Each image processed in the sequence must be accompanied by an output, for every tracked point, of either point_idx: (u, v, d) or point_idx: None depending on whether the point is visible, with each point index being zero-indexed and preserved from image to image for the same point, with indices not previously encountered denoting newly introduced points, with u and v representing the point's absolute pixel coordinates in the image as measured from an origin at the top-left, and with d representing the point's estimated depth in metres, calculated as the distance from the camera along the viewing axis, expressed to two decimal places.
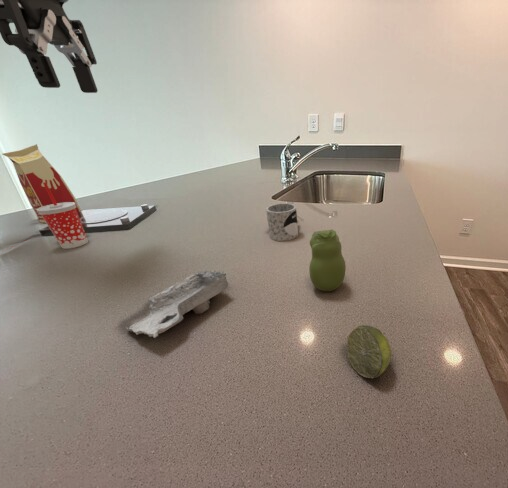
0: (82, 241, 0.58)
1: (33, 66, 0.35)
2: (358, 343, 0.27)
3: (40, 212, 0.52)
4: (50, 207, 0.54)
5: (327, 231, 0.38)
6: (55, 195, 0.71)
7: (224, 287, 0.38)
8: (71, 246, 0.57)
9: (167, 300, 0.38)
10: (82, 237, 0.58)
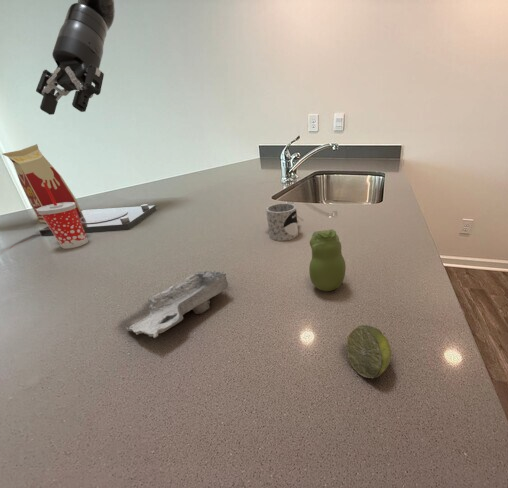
0: (82, 241, 0.58)
1: (83, 98, 0.56)
2: (358, 343, 0.27)
3: (40, 212, 0.52)
4: (50, 207, 0.54)
5: (327, 231, 0.38)
6: (55, 195, 0.71)
7: (224, 287, 0.38)
8: (71, 246, 0.57)
9: (167, 300, 0.38)
10: (82, 237, 0.58)
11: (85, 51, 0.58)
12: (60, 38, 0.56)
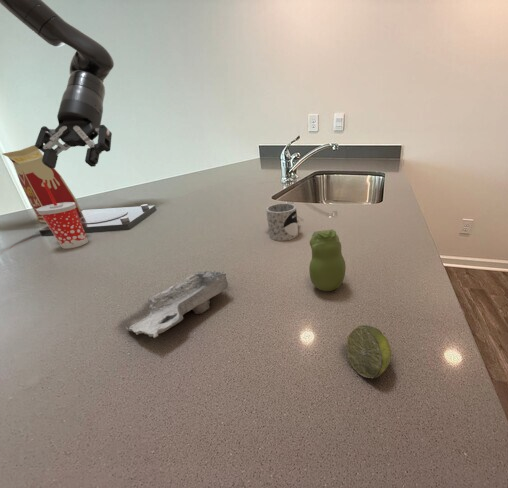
0: (82, 241, 0.58)
1: (95, 154, 0.60)
2: (358, 343, 0.27)
3: (40, 212, 0.52)
4: (50, 207, 0.54)
5: (327, 231, 0.38)
6: (55, 195, 0.71)
7: (224, 287, 0.38)
8: (71, 246, 0.57)
9: (167, 300, 0.38)
10: (82, 237, 0.58)
11: (92, 113, 0.63)
12: (69, 101, 0.60)
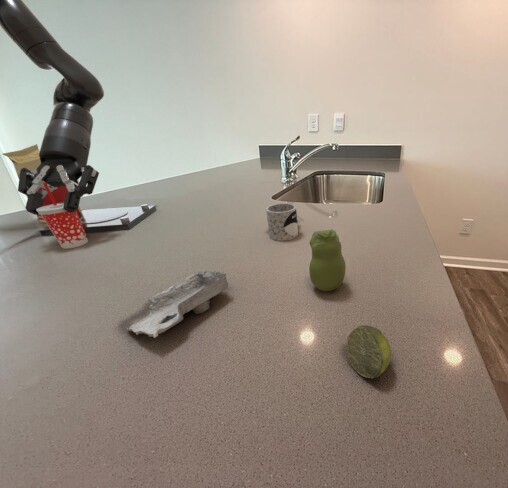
0: (82, 241, 0.58)
1: (75, 199, 0.54)
2: (358, 343, 0.27)
3: (40, 212, 0.52)
4: (50, 207, 0.54)
5: (327, 231, 0.38)
6: (55, 195, 0.71)
7: (224, 287, 0.38)
8: (71, 246, 0.57)
9: (167, 300, 0.38)
10: (82, 237, 0.58)
11: (78, 149, 0.57)
12: (51, 137, 0.55)
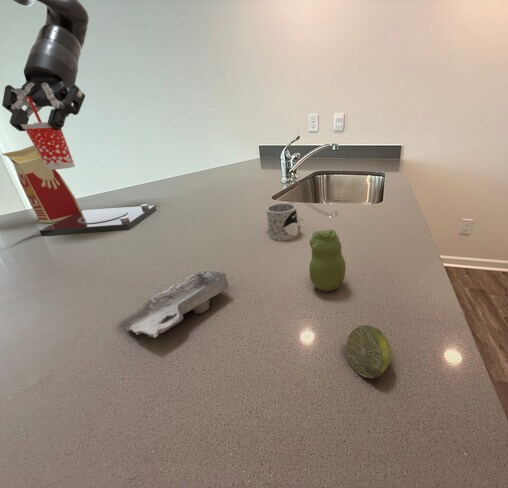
0: (68, 164, 0.57)
1: (60, 116, 0.54)
2: (358, 343, 0.27)
3: (24, 126, 0.52)
4: (34, 123, 0.53)
5: (327, 231, 0.38)
6: (55, 195, 0.71)
7: (224, 287, 0.38)
8: (57, 167, 0.56)
9: (167, 300, 0.38)
10: (68, 160, 0.57)
11: (64, 70, 0.57)
12: (36, 54, 0.54)
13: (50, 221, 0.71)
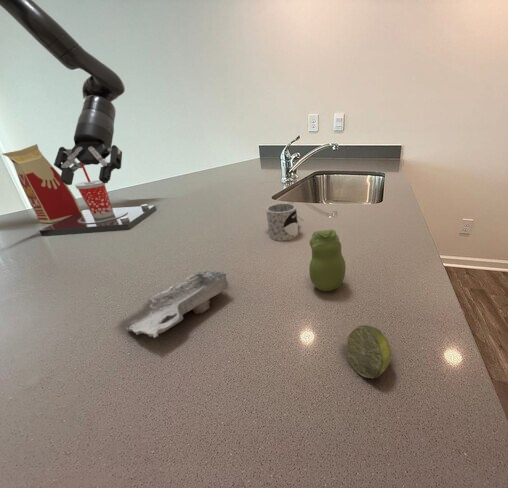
0: (109, 213, 0.70)
1: (107, 172, 0.67)
2: (358, 343, 0.27)
3: (78, 187, 0.65)
4: (85, 183, 0.66)
5: (327, 231, 0.38)
6: (55, 195, 0.71)
7: (224, 287, 0.38)
8: (101, 216, 0.69)
9: (167, 300, 0.38)
10: (109, 210, 0.70)
11: (105, 134, 0.69)
12: (84, 124, 0.67)
13: (50, 221, 0.71)
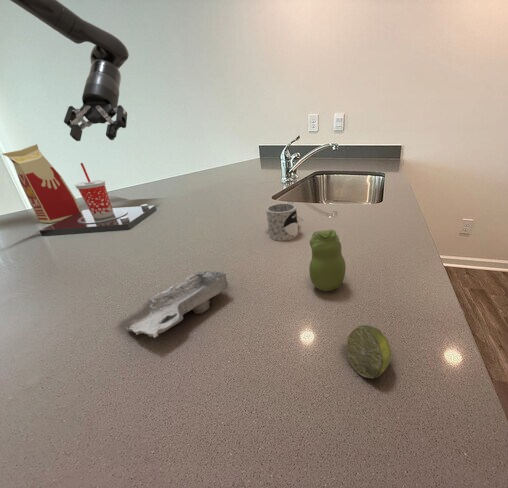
0: (109, 213, 0.70)
1: (114, 129, 0.71)
2: (358, 343, 0.27)
3: (78, 187, 0.65)
4: (85, 183, 0.66)
5: (327, 231, 0.38)
6: (55, 195, 0.71)
7: (224, 287, 0.38)
8: (101, 216, 0.69)
9: (167, 300, 0.38)
10: (109, 210, 0.70)
11: (111, 95, 0.74)
12: (92, 84, 0.71)
13: (50, 221, 0.71)
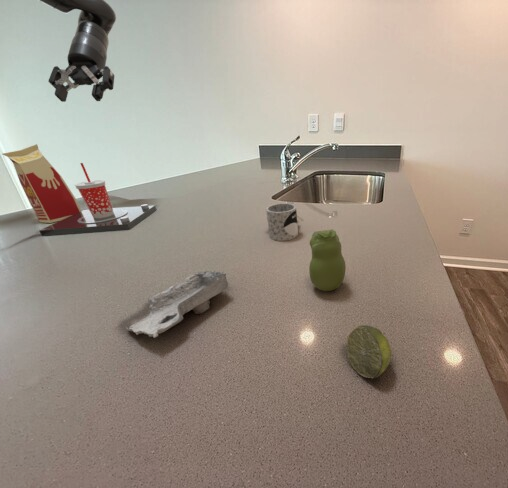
0: (109, 213, 0.70)
1: (100, 90, 0.69)
2: (358, 343, 0.27)
3: (78, 187, 0.65)
4: (85, 183, 0.66)
5: (327, 231, 0.38)
6: (55, 195, 0.71)
7: (224, 287, 0.38)
8: (101, 216, 0.69)
9: (167, 300, 0.38)
10: (109, 210, 0.70)
11: (98, 56, 0.72)
12: (77, 44, 0.70)
13: (50, 221, 0.71)
